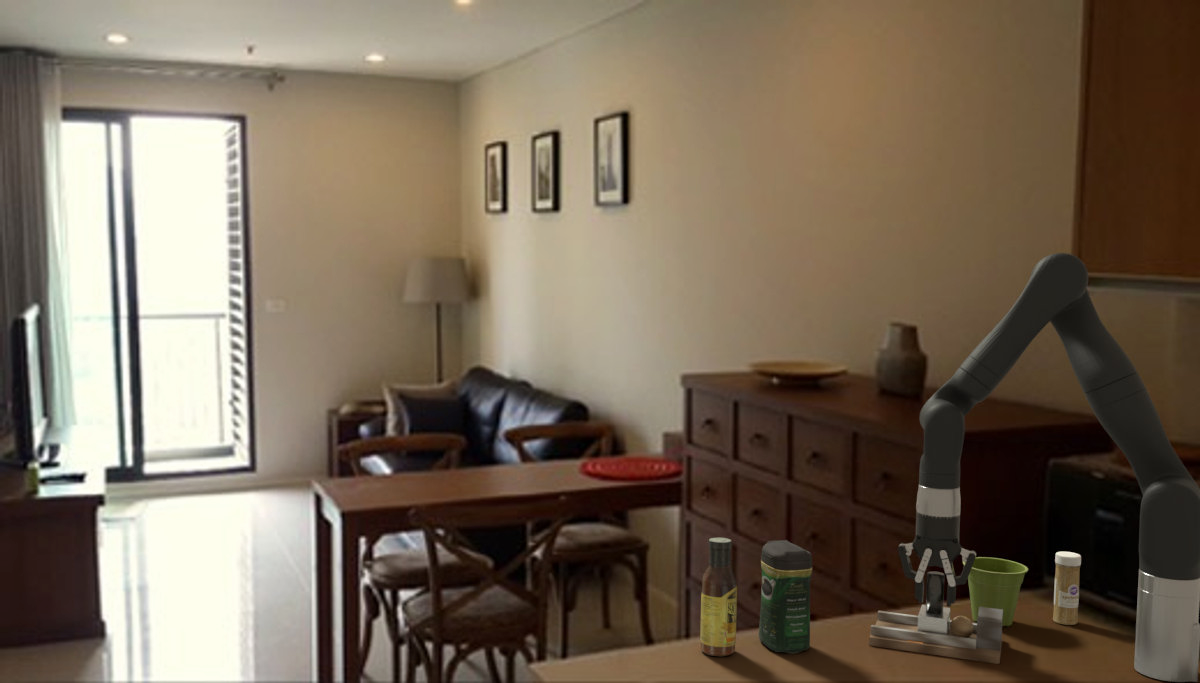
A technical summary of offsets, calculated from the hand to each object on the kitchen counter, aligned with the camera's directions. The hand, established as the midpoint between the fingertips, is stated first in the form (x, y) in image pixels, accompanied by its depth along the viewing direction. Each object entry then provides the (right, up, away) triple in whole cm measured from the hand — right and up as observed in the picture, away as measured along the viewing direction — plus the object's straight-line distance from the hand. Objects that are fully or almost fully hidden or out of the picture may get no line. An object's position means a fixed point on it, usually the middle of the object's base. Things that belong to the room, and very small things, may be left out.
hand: (934, 603), depth 195 cm
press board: (0, -7, 0) cm, 7 cm away
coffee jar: (-28, -7, -2) cm, 29 cm away
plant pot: (+15, -7, +13) cm, 21 cm away
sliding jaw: (0, -6, 0) cm, 6 cm away
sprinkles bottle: (+29, -7, +13) cm, 33 cm away
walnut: (+4, -4, -2) cm, 6 cm away
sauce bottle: (-40, -7, -6) cm, 41 cm away
